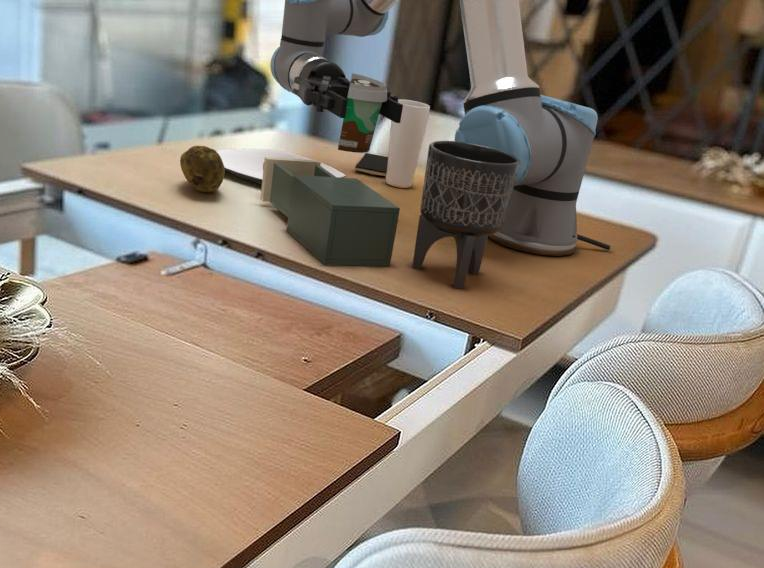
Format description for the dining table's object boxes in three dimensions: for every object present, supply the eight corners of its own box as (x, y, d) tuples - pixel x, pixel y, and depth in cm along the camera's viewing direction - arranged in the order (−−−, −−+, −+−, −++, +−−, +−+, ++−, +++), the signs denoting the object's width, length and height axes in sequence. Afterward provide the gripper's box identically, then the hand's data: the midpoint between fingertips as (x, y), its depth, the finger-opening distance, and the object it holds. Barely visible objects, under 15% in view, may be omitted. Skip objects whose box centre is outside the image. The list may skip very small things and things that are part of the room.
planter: (395, 275, 146) (417, 148, 137) (420, 255, 156) (443, 136, 147) (481, 297, 143) (510, 169, 134) (500, 275, 154) (529, 155, 145)
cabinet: (286, 231, 156) (293, 174, 152) (348, 233, 161) (356, 178, 156) (324, 265, 145) (332, 204, 140) (390, 266, 149) (400, 207, 145)
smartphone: (400, 159, 210) (391, 173, 197) (399, 164, 211) (390, 179, 198) (365, 152, 211) (354, 166, 198) (364, 158, 211) (354, 172, 198)
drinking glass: (422, 189, 195) (437, 108, 187) (394, 190, 191) (409, 106, 184) (401, 180, 199) (415, 99, 192) (374, 180, 196) (387, 98, 188)
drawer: (250, 190, 171) (254, 149, 167) (302, 193, 175) (307, 152, 171) (291, 226, 156) (296, 181, 153) (346, 228, 160) (353, 184, 156)
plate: (360, 187, 189) (362, 177, 188) (273, 197, 173) (274, 186, 172) (274, 156, 200) (275, 145, 199) (184, 162, 184) (185, 151, 183)
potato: (233, 188, 174) (237, 140, 170) (216, 205, 163) (221, 154, 159) (186, 179, 174) (189, 131, 170) (166, 196, 163) (169, 145, 159)
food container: (376, 159, 157) (390, 92, 152) (337, 151, 157) (350, 83, 151) (376, 144, 168) (389, 80, 163) (340, 136, 167) (352, 72, 162)
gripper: (371, 110, 178) (428, 141, 161) (256, 99, 170) (304, 131, 152) (378, 64, 175) (438, 91, 157) (261, 51, 166) (310, 78, 149)
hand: (372, 111), depth 155 cm, fingers closed on food container, 9 cm apart
